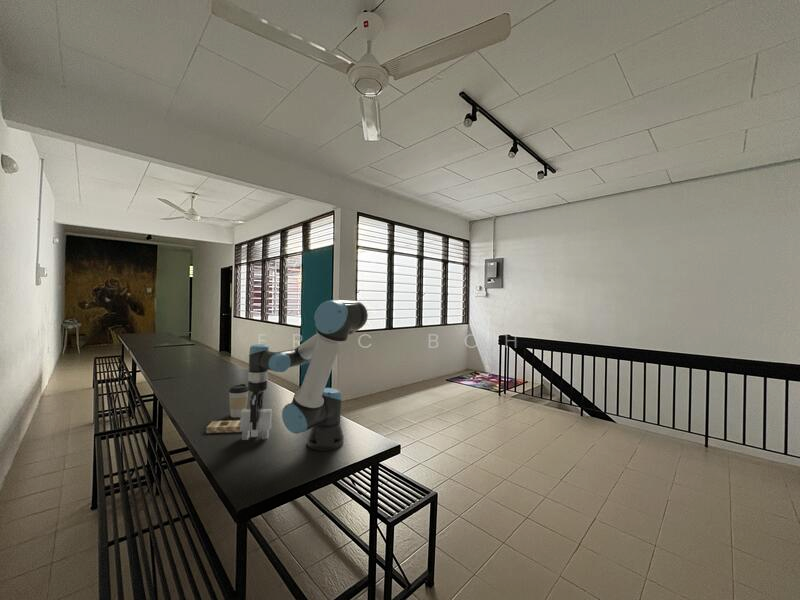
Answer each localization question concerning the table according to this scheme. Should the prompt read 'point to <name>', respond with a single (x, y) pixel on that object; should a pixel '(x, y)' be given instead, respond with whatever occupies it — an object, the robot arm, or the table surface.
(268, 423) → the grey flat block
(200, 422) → the table surface
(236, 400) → the coffee cup
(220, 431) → the wooden ladder frame
